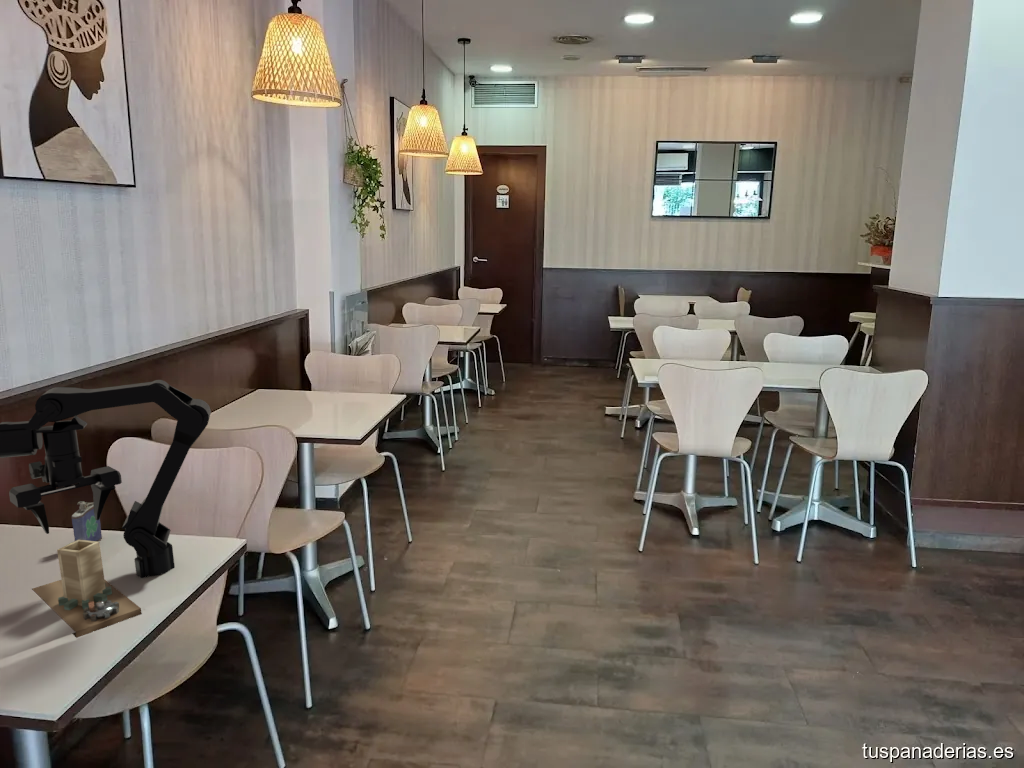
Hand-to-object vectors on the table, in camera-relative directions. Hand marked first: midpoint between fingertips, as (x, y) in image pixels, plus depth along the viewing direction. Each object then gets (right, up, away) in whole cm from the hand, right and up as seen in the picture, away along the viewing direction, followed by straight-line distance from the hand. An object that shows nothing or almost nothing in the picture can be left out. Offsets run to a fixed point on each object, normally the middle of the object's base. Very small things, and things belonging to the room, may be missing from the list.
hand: (72, 526), depth 153 cm
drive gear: (+12, -14, -11) cm, 21 cm away
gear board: (+5, -14, -5) cm, 16 cm away
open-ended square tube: (+6, -13, -5) cm, 15 cm away
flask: (-9, -9, +23) cm, 26 cm away
